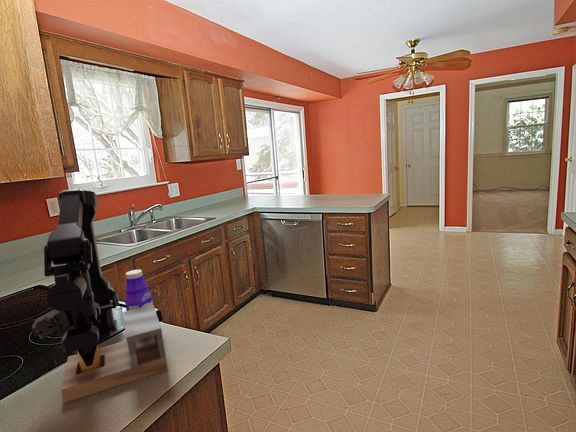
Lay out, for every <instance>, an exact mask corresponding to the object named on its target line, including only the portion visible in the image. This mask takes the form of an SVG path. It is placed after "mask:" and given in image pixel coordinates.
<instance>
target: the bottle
mask: <svg viewBox="0 0 576 432" xmlns="http://www.w3.org/2000/svg"><path fill="white" fill-rule="evenodd" d="M125 278H126V279H125V280H126V285H125V289H124V291H125V292H126V296H125V299H124V304H125V309H126V311H130V310H134V309H138V308H142V307H146V306H150V305H154V302H153V297H152V293H151V290H150V289H149V288H148V286H149V285H148V283H147V282H146V281H145V279H144V275H143V271H142V269H133V270H130V271H127V272H126V273H125Z"/></svg>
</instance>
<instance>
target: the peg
mask: <svg viewBox="0 0 576 432" xmlns="http://www.w3.org/2000/svg"><path fill="white" fill-rule="evenodd" d="M98 344H99V343H98ZM98 344H97V348H96V352H95V356H94V360H93V364H92V365H91V366H86V364H85V363H84V361H83V359H82V358H81V356H80V354H79V353H78V351H77V350H76V353H77V354H78V358H79V363H80V368H81V373H84V372H87V371H90V370H94V369H97V368H100V367H102V365H101V360H100V355H99V349H98V348H99V345H98Z"/></svg>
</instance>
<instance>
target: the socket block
mask: <svg viewBox="0 0 576 432" xmlns="http://www.w3.org/2000/svg"><path fill="white" fill-rule="evenodd" d="M123 320H124V321H123V322H124V330H125V338H126V339H125V340H123V341H119V342H116V343H113V344H109V345H105V346H102V347H98V349H99V355H100V360H101V365H102V367H100V368H97V369H94V370H90V371H87V372H84V373H81V368H80V363H79V358H78V354H74V355H68V356H67V359H66V364H65V365H66V366H65V369H64V373H63V378H62V384H61V388H60V391H61V396H62V400H63V404H66V403H69V402H72V401H75V400H78V399H81V398H85V397H88V396H90V395H93V394H97V393H100V392H102V391H105V390H109V389H112V388H115V387H118V386H121V385H124V384H128V383H130V382H133V381H136V380H140V379H143V378H146V377H149V376H152V375H154V374H158V373H160V372H164V371H168V370H169V369H168V363H167V358H166V350H165V344H164V338H163V331H162V327H161V323H160V320H159V317H158V315H157V312H156V308H155V305H154V304H153V305H150V306H146V307H142V308H138V309H134V310H130V311H127V310H126V311H123Z"/></svg>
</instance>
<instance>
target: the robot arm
mask: <svg viewBox="0 0 576 432" xmlns="http://www.w3.org/2000/svg"><path fill="white" fill-rule="evenodd" d="M57 204H58V209H59V213H58V220H57V221H58V222H57V228H55V229H54V230H53V231H51V232H50V233H49V235H48V237H47V241H46V244H44V246H43V251H44V252H43V253H44V254H43V256H44V257H43V259H44V260H43V262H44V265H43V266H44V269H43V270H44V272H43V273H44V277H45V278H46V277H51V276H53V277H54V282H53V284H52V285H51V287H50V288H49V289H48V291H47V294H46V303H47V305H48V306H49V307H50V308H51V311H48V312H47V313H45V314H43V315H41V316H39V317H38V318H36V319H35V320H34V322H33V324H32V327H31V328H32V330H33V332H34V333H33V335H34V336H35V337H36V336H37V337H39V338H40V340H44V339H46V338H47V337H48V336H50V335H51V334H52V333H54V332H56V331H58V330H59V329H61V328H63V330H67V329H69V330H67V331H65V333H64V334H63V336H62V338H61V339H62V340H61V343H60V344H61V349H62V353H70V352H74V351H76V352H77V351H78V353H79V354H80V356H81V358H82V359H83V361H84V363H85V364H86V366H91V365H92V364H93V360H94V356H95V352H96V348H97V344H99V343H100V335H102V334H105V333H110V332H113V331H117V329H118V326H117V323H118V322H117V319H115V318H114V312H113V309H117V307H118V306H120V303H119V298H118V294H117V291H115V290H114V288H113V287H111V283H110V280H109V279H108V278H107V277H106V276H105V275H104V274H103V273H102V268H101V267H102V266H101V263H100V255H99V252H98V245H97V241H96V235H95V230H94V228H95V227H94V220H95V218H96V216H97V213H98V210H97V209H98V207H99V200H98V196H97V194H96V192H95V191H91V190H90V189H89V190H84V189H81V188H70V189H63V190H62V191H59V193H58V195H57ZM52 265H53V266H52Z"/></svg>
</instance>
